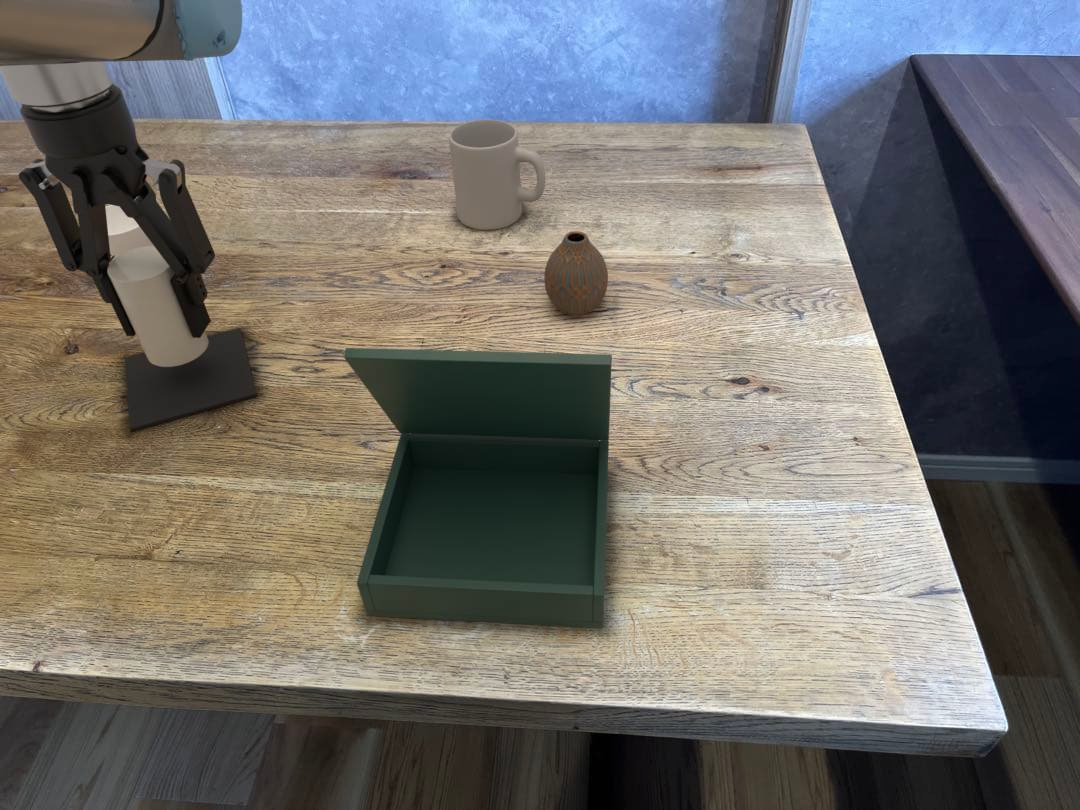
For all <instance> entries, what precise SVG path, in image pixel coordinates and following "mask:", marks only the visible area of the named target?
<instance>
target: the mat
mask: <svg viewBox="0 0 1080 810" xmlns="http://www.w3.org/2000/svg"><path fill="white" fill-rule="evenodd" d="M207 336H208V340H209V343H208V347H207V349H206V350H205V351H204V352H203V353H202V354H201V355H200V356H199V357H198V358H196V359H194V360H192V361H190V362H188V363H186V364H183V365H179V366H173V367H161V366H156V365H154V364H152V363H150V362H149V361H148V359H147V357H146V355H145V353H144V352H141V353H136V354H133V355H128V356H124V365H125V378H126V379H125V380H126V382H125V383H126V394H127V395H126V396H127V408H128V426H129V430H130V432H134V431H138V430H142V429H145V428H148V427H153V426H157V425H159V424H163V423H167V422H170V421H173V420H174V421H175V420H178V419H181V418H185V417H188V416H191V415H195V414H198V413H203V412H205V411H209V410H214V409H217V408H219V407H221V408H222V407H225V406H227V405H232V404H235V403H239V402H242V401H246V400H248V399H253V398H255V397H258V393H257V389H256V384H255V381H254V377H253V372H252V369H251V365H250V361H249V356H248V352H247V349H246V345H245V341H244V337H243V333H242V329H241V327H237V328H234V329H229V330H226V331H222V332H218V333H215V334H210V335H207Z"/></svg>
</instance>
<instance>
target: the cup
mask: <svg viewBox="0 0 1080 810" xmlns="http://www.w3.org/2000/svg"><path fill="white" fill-rule="evenodd" d="M105 209H106V218H107V228H108V237H109V247H110V255H111V258H112V256H113V255H114V258H113V260H114V259H115V258H117V257H118V256H120V255H121V254H123V253H125V252H128V251H130V250H133V249H136V248H140V247H146V246H154V245H153V244H152V243H151V241H150V240H149V239H148V237H147V236H146V235H145V233H144V232H143V231H142V229H141V228H140V227H139V225H138V224H137V223H136V221H135V220H134V219H133V218H129V217H127V216H126V214H125V213H124V212H123V211H122V209H121V208H120V207H119V206H115V205H111V204H108V205H107V206H106V205H105ZM113 260H112V261H113ZM112 261H111V262H112ZM111 262H110V263H111ZM110 263H109V264H110Z"/></svg>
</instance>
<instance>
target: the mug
mask: <svg viewBox="0 0 1080 810" xmlns="http://www.w3.org/2000/svg"><path fill="white" fill-rule="evenodd" d="M448 142H449V143H448V144H449V151H450V161H451V169H452V178H453V186H454V196H455V208H456V215H457V219H458V221H459V222H460V223H462V224H463V225H464V226H465V227H467V228H470V229H474V230H479V231H494V230H500V229H504V228H507V227H509V226H511V225H513V224H515V223H516V222H517V221H519V219H520V218H521V216H522V213H523V202H525V203H526V202H527V203H531V202H537V201H538V200H539V199H540V198H542V196H543V194H544V192H545V188H546V171H545V170H546V169H545V165H544V161H543V159H542V158H541V156H540V155H539V154H538V153H537V152H536V151H534V150H530V149H528V148H523V147H520V144H519V134H518V130H517V128H516V127H515V126H514V125H513V124H511V123H509V122H506V121H503V120H498V119H476V120H471V121H470V120H469V121H466V122H464V123H461V124H459V125H457V126H455V127H454V128H453V129H452V130H451V131H450V132H449V136H448ZM521 163H527V164H530V165H532V166H533V168H534V170H535V173H536V185H535V188H533V189H528V188H525V187H523V186H522V180H521V170H520V164H521Z"/></svg>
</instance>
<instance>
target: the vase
mask: <svg viewBox="0 0 1080 810" xmlns="http://www.w3.org/2000/svg"><path fill="white" fill-rule="evenodd" d="M543 276H544V277H543V279H544V288H545V293H546V296H547V297H548V300H549V301H550V303H551V304H552V305H553V306H554V308H556V309H557V310H558V311H560V312H561V313H563V314H565V315H568V316H573V317H579V316H584V315H587V314H589V313H591V312H593V311H594V310H595V309H597V308H598V307H599V306H600V305H601V303H602V301H603V300H604V298H605V296H606V293H607V289H608V283H609V272H608V267H607V263H606V260H605V258H604V256H603V255H602V253H601V252H600V251H599V250H598V248H597V247H596V246H595V245H594V244H593V243H592V242H591V241H590V239H589V236H588V235H587V234H586V233H585V232H583V231H579V230H573V231H569V232H567V233H566V234H565V235H564V237H563V239H562V240H561V242H560V243H559V245H557V247H556V248H555V249H554V250H553V252H551V254H550V255H549V258H548V259H547V261H546V265H545V270H544V275H543Z"/></svg>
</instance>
